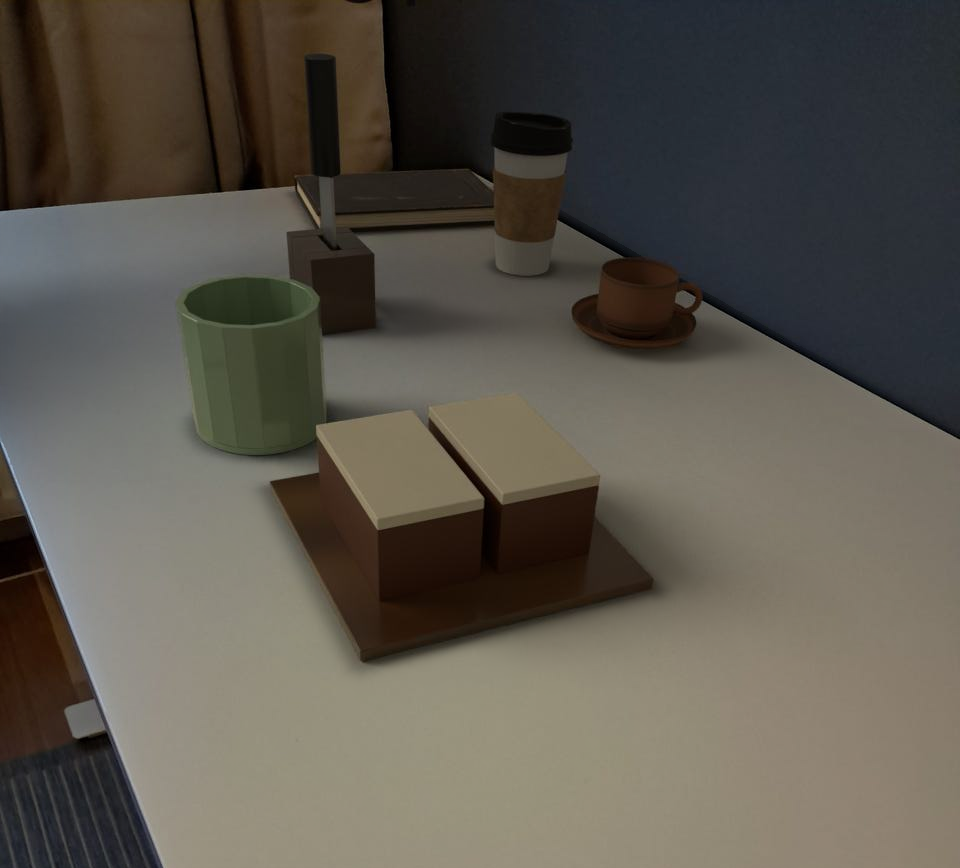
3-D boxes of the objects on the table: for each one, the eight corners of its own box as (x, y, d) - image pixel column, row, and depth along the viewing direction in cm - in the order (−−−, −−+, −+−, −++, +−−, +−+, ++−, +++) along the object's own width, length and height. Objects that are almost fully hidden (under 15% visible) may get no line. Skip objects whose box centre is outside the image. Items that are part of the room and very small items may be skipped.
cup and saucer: (659, 306, 101) (669, 245, 97) (714, 355, 92) (728, 290, 88) (551, 315, 98) (557, 252, 94) (598, 366, 89) (607, 299, 85)
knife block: (291, 304, 96) (286, 231, 92) (349, 297, 99) (346, 225, 94) (315, 335, 91) (310, 260, 87) (376, 328, 93) (374, 253, 89)
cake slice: (427, 482, 71) (428, 406, 67) (511, 466, 73) (517, 392, 69) (497, 574, 62) (503, 494, 59) (589, 553, 65) (601, 474, 61)
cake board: (270, 490, 70) (269, 480, 70) (518, 445, 77) (519, 435, 77) (360, 662, 57) (360, 651, 56) (652, 588, 63) (654, 578, 63)
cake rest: (320, 502, 68) (315, 424, 64) (411, 485, 70) (412, 409, 66) (379, 601, 60) (377, 519, 56) (480, 578, 62) (485, 497, 58)
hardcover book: (505, 224, 119) (507, 204, 117) (318, 233, 113) (317, 213, 111) (467, 185, 130) (467, 167, 129) (295, 193, 124) (293, 173, 123)
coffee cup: (471, 257, 109) (478, 108, 99) (538, 250, 112) (550, 104, 102) (504, 284, 103) (514, 129, 94) (573, 275, 106) (590, 124, 97)
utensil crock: (184, 404, 79) (164, 282, 73) (305, 386, 83) (296, 268, 76) (211, 464, 72) (192, 335, 66) (343, 442, 76) (337, 317, 70)
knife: (315, 310, 96) (298, 53, 81) (340, 307, 96) (328, 52, 82) (325, 324, 93) (310, 61, 79) (351, 321, 94) (341, 60, 80)
